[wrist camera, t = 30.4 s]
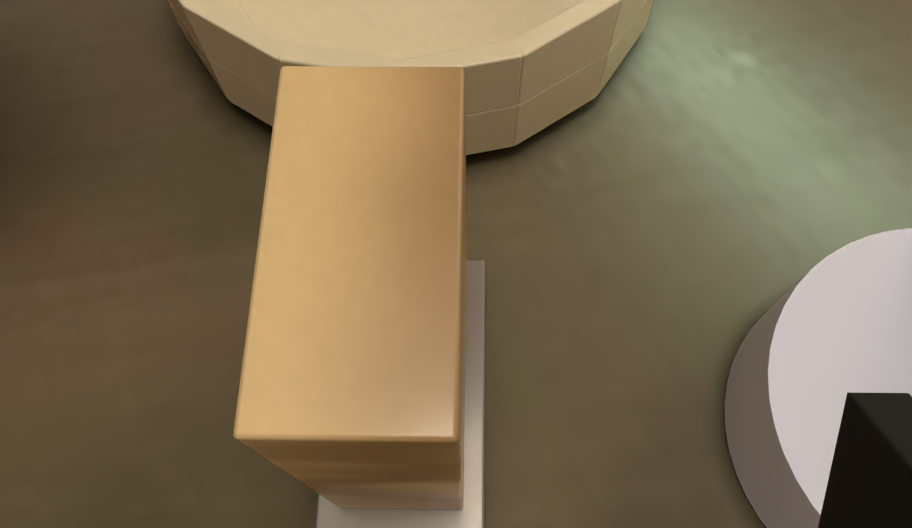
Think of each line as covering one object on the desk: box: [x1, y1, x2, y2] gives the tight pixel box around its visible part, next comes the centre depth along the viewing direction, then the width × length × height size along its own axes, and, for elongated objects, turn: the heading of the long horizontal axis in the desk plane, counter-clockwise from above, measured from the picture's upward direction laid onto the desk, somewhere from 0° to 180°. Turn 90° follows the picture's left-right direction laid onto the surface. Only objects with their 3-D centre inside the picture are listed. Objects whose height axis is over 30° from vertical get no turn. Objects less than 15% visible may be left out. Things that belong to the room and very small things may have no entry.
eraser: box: [233, 66, 485, 528], centre depth 16 cm, size 4×7×11 cm, turn 179°
